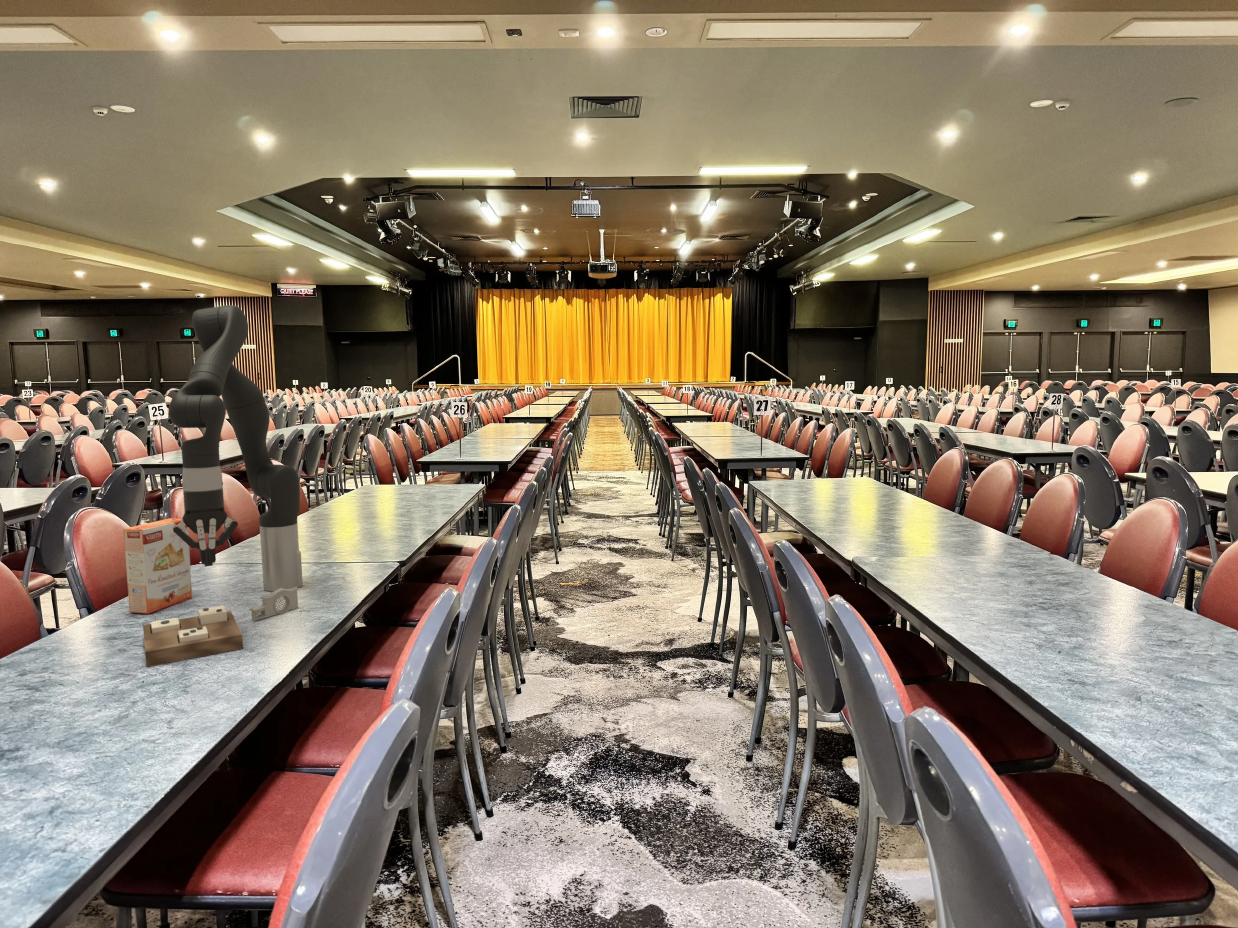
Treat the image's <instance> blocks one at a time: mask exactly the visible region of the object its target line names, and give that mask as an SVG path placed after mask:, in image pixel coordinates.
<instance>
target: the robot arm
mask: <svg viewBox="0 0 1238 928" xmlns="http://www.w3.org/2000/svg"><path fill="white" fill-rule="evenodd" d="M191 317H192V319H191V320H192V321H191V322H192V327H193V330H194V334H195V337H196V339H197V341H198V343H199V345H200V348H201V350H202V352H203V353H201V355H200V356H199V357H197V359H196V360H195V362H194V363H193V365H192V367H191V369H190V373H189V376H188V379H187V381H186V382H185V383H184V384H183V385H182V387H180V388H179V390H177V392H175V394H174V396H173V397H172V398H171V400H170V403H169V404H168V409H167V410H168V413H167V414H168V419H169V420H170V422H171V423H172V424H173V425H174V426H175V427H178V428H183V429H201V428H203V429H204V428H205V432H204V434H203V435H202V436H201V437H196V438H192V439H187V440H185V441H183V442H182V445H181V457H182V458H181V459H182V476H181V479H182V480H181V481H182V493H183V495H182V496H183V508H184V514H183V516H182V518H181V519H182V520H183V521H181V522H180V523H179V524H178V525H176V526H173V531H174V532H175V533H176V534H177V535H178V536H179V537H180V538H181V539H182V540H183V541H184V542H186V543H187V544H188V545H189V548H190V549H197V550H199V557H200V558H199V559H200V563H201V564H202V565H204V567H211V566H213V564H214V563H216V562H217V558H216V548H217V547H219V546H223V545H224V544H225V543H226V541H227V540H228V539H229V537H230V536H231V535H232V533H234V530H235V529H236V528H238V526H239V523H238V521H237V520H236V519H232V518H231V517H228V514H227V512H226V510H225V501H224V482H223V474H222V473H223V472H222V471H221V469H222V468H221V461H220V460H221V459H220V458H221V457H220V441H221V435H222V430H223V426H224V423H225V420H226V414H227V416H228V418H229V421H230V424H231V426H232V428H233V432H234V434H235V437H236V440H237V443H238V446H239V450H240V451H241V455H242V459H243V462H244V466H245V472H246V475H247V479H248V483H249V486H250V488H251V490H252V492H253V493H254V494H255V496H257V497H258V498H261V499H269V500H270V505H269V509H268V510H267V511H266V512H263V513H262V514H260V515H259V519H258V522H259V523H258V524H259V538H260V539H259V540H260V551H261V552H260V553H261V568H262V583H263V590H265V591H266V592H267V591H268V592H273V591H276V590H278V589H280V588H281V589H291V588H294V587H297V588H300V587H303V586H304V583H303V582H304V580H303V567H302V563H303V562H302V552H301V550H300V545H299V528H298V526H299V525H298V517H299V513H300V510H301V509H300V508H301V503H300V502H301V497H300V496H301V493H300V491H301V488H300V487H301V486H300V485H301V484H300V478H299V474H298V472H297V470H296V469H295V468H294V467H293V466H291V465H288V464H287V465H286V464H274V462H273V461H272V459H271V456H270V453H269V450H268V447H267V437H268V432H269V428H270V427H269V426H270V412H269V409H268V406H267V405H268V404H267V403H266V399H265V397H264V394H263V391H262V390H261V389H260V387H259V386H258V385H257V384H256V383H255V382H253V380H252V379H251V378H249V377H248V376H246V375H245V374H244V373H243V372H242V371H241V370H239V369H238V368H237V367H236V366H235V365H234V364H233V363H234V360H235V359H236V357H237V356H238V354H239V352H240V350H241V349H242V348H243V346H244V344H245V343H246V340H247V337H248V335H249V322H248V319H247V316H246V314H245V312H244V311H243V310H242V309H241V307H240V306H237V305H235V304H234V305H233V304H229V305H228V304H227V305H226V304H225V305H221V306H214V307H213V306H212V307H208V308H207V307H206V308H202V309H201V308H200V309H197V310H195V311H193V313H192V316H191ZM223 524H224V526H225V528H224V529H223V531H222V532H221V534H220V535H219V537H218V538H217V539H216V537H217V536H216V533H217V532H218V531H219V530H220V529H221V527H222V526H223ZM185 525H187V526H188V529H190V531H192V533H194V534H195V535H197V541H195V540H194V539H193V538H192V537H191V536H190V535H189V534H188V535H189V536H188V535H187V534H186V533H185V532H186V528H185ZM206 534H207V541H206V537H205V535H206ZM206 542H207V543H206Z"/></svg>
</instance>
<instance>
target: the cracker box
mask: <svg viewBox="0 0 1238 928" xmlns="http://www.w3.org/2000/svg"><path fill="white" fill-rule="evenodd" d="M181 521H183V520H182V518H173V517H172V518H171V517H169V518H166V519H161V520H156V521H152V522H147V523H143V524H142V523H141V524H139V525H134V526H130V527H129V526H128V527H125V528H123V538H124V552H125V555H124V556H125V568H126V580H127V581H126V582H127V594H128V609H129V613H133V614H144V615H149V614H152V613H154V612H157V611H161V610H163V609H165V608H167V607H168V608H169V607H171V606H174V605H176V604H179V603H182V602H185V601H186V600H190V599H192V598H193V592H192V591H193V589H192V587H193V586H192V574H191V573H192V572H191V557H190V555H191V554H190V553H191V552H190V546H189V545H188V544H187V543H186V542H184V541H183V540H182V539H181V538H180V537H179V536H178V535H177V534H176V533H175V532H174V531H173V526H176V525H178V524H179V523H180V522H181ZM185 528H186V532H185V533H186V534H187V535H188V536H189V537H190V535H189V527H188V526H187V525H185Z"/></svg>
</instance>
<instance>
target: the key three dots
mask: <svg viewBox="0 0 1238 928" xmlns="http://www.w3.org/2000/svg"><path fill="white" fill-rule="evenodd" d="M178 634H179V643H183V642H189V641H195V640H200V639H206V638H208V631H207V628H206V626H204V627H197V628H192V629H186V630H181V631H178Z"/></svg>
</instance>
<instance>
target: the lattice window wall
mask: <svg viewBox="0 0 1238 928" xmlns="http://www.w3.org/2000/svg"><path fill="white" fill-rule="evenodd" d="M298 591H299V587H294V588H291V589H281V588H280V589H278V590H276V591H271V593H270V594H266V595H262V596H260V597H259V598H260V599H261V602H262V605H260V606H257V607H251V608H250V611H251V621H255V622H256V621H260V620H263V619H267V618H269V617H272V616H275V615H278V614H285V613H286V612H288V611H292V610H294V609H298V608H299V602H298V600H299V599H298Z"/></svg>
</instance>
